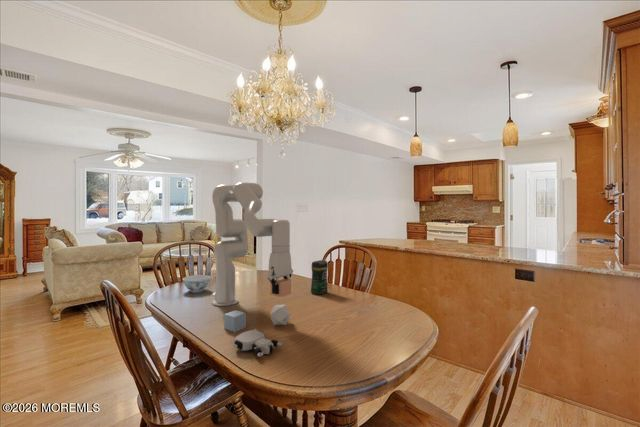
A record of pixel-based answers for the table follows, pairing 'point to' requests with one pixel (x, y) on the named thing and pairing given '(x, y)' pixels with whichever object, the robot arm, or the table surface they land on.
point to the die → (280, 314)
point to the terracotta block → (283, 287)
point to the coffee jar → (319, 277)
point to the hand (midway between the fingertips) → (280, 291)
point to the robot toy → (255, 342)
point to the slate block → (234, 320)
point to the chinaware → (196, 282)
